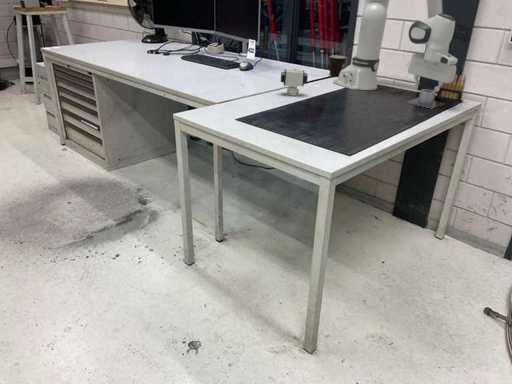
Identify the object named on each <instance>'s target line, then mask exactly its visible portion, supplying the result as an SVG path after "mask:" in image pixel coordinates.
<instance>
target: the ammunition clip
mask: <svg viewBox="0 0 512 384" xmlns="http://www.w3.org/2000/svg"><path fill="white" fill-rule="evenodd" d="M466 78H467V76H466V75H464V76H463V79H462V74H460V75H459V77H458V74H455V78H454V81H453V82H451V83H444V84H443V85H442V86H441V87H440V89H439V91H438V92H436V95H435V98H436V97H437V98H442V99H448V100H457V101H460V100H461V101H462V98H463V93H464V89H465V85H466V80H467V79H466ZM437 98H436V99H437ZM442 99H441V100H442ZM448 100H447V101H448Z"/></svg>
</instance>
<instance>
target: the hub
mask: <svg viewBox="0 0 512 384" xmlns="http://www.w3.org/2000/svg"><path fill="white" fill-rule="evenodd" d="M436 95H437V92H436V91H434V89H426V88H424V89H423V88H422V89H420V91H419V96H418V98H419V100H418V101H419V102H420V103H423V104H433V102H434V101H435V98H436Z"/></svg>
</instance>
